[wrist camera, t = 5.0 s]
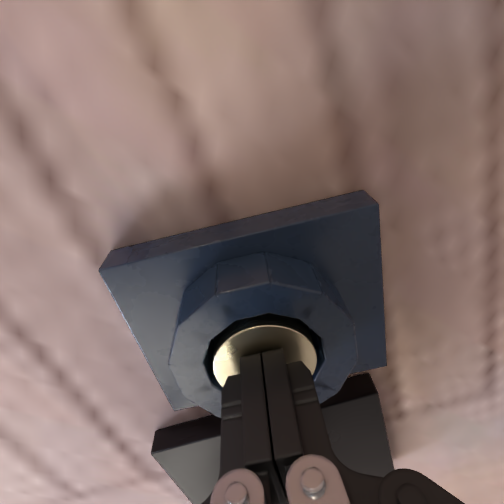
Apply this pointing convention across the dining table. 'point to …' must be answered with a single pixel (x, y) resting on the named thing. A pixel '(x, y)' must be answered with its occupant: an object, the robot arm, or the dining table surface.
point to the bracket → (337, 424)
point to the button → (262, 343)
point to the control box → (256, 292)
